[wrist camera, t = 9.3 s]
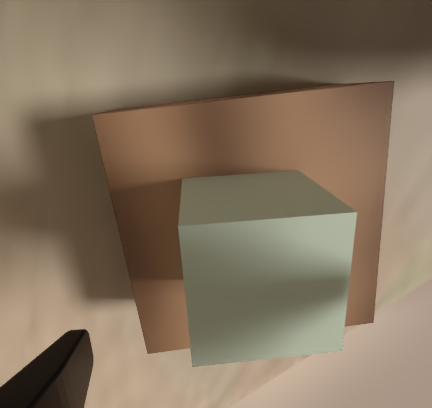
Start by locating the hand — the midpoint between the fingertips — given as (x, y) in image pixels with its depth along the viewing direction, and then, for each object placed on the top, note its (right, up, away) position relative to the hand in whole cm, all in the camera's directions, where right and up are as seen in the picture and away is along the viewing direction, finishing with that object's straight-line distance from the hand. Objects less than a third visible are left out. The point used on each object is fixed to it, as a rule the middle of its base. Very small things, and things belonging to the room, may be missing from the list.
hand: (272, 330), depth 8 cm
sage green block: (0, +2, +6) cm, 7 cm away
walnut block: (0, +3, +11) cm, 12 cm away
